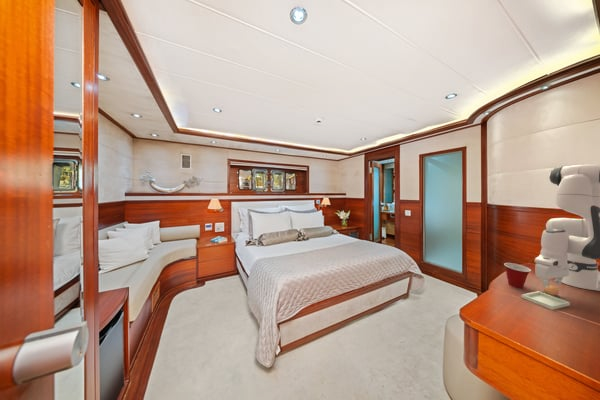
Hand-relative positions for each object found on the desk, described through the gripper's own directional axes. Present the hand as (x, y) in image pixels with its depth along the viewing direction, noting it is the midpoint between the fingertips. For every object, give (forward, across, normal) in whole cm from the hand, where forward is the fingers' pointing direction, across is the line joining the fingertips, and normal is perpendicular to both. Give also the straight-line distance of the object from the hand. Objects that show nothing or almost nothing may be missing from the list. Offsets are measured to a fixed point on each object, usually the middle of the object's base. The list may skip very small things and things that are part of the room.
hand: (551, 285), depth 105 cm
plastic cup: (+6, +3, -13) cm, 14 cm away
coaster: (+6, -1, -1) cm, 6 cm away
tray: (+6, +11, +2) cm, 13 cm away
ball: (+6, -1, -1) cm, 6 cm away
